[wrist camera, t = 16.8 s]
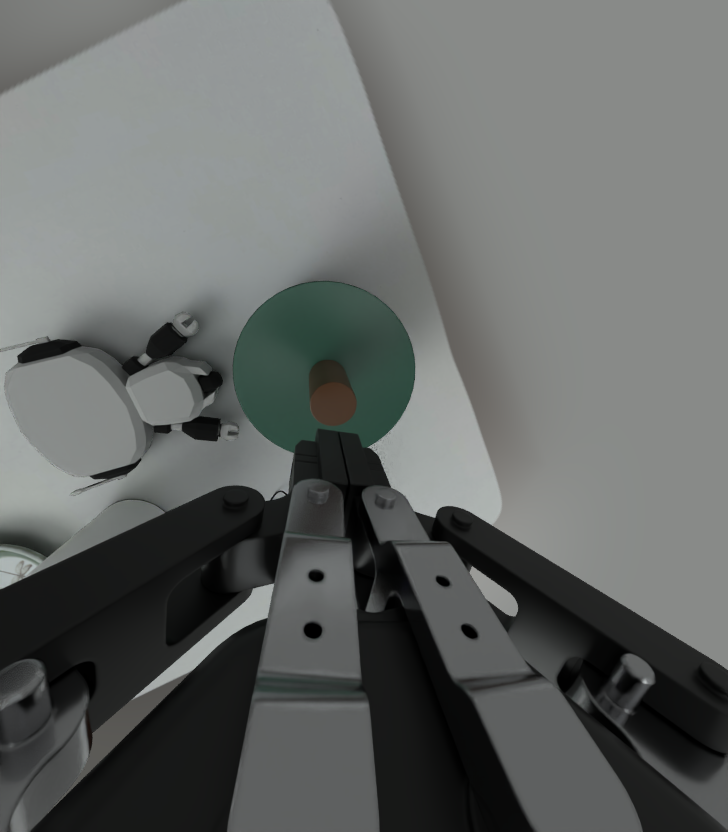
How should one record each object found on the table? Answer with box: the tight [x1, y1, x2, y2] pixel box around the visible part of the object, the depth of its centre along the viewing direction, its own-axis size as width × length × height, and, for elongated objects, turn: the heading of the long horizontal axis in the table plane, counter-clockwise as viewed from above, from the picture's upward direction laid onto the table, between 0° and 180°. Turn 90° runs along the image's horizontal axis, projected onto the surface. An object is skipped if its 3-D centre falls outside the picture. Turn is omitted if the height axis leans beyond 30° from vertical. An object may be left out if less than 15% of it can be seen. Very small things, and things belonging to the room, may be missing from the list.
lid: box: [233, 281, 415, 453], centre depth 21 cm, size 12×12×6 cm
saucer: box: [0, 544, 46, 589], centre depth 34 cm, size 10×10×2 cm
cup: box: [25, 500, 165, 578], centre depth 30 cm, size 9×9×12 cm
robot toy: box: [0, 312, 239, 496], centre depth 29 cm, size 12×4×15 cm
